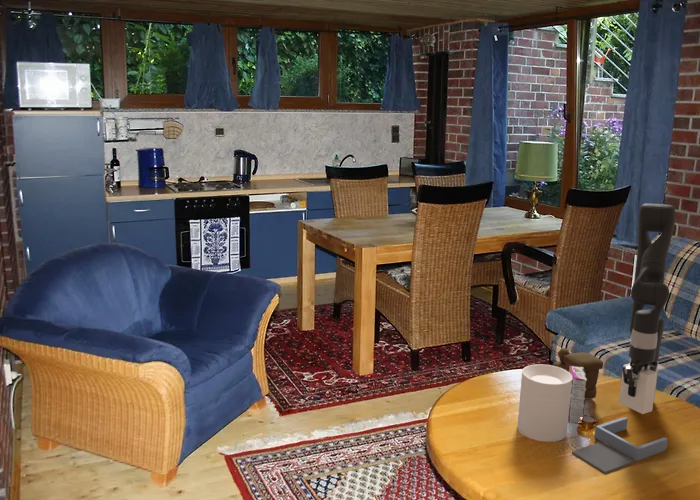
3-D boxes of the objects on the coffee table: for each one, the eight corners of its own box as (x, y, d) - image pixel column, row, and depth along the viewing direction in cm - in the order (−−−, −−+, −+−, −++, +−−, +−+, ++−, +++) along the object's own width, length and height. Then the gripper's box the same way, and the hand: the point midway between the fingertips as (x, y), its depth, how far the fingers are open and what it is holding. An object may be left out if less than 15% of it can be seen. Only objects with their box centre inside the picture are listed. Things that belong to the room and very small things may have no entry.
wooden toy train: (600, 403, 249) (605, 360, 245) (575, 408, 245) (580, 365, 241) (564, 381, 267) (568, 341, 263) (540, 385, 263) (544, 345, 259)
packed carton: (628, 399, 223) (632, 362, 220) (652, 411, 216) (657, 372, 213) (618, 402, 221) (623, 364, 218) (642, 414, 214) (647, 375, 210)
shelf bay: (623, 427, 232) (624, 416, 231) (666, 450, 218) (667, 438, 217) (594, 437, 225) (595, 426, 224) (636, 461, 211) (638, 449, 210)
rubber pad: (600, 443, 221) (600, 441, 221) (634, 462, 210) (634, 460, 210) (571, 453, 215) (571, 451, 215) (605, 473, 204) (605, 471, 204)
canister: (569, 424, 233) (575, 369, 228) (562, 446, 219) (568, 388, 214) (522, 414, 240) (527, 360, 235) (512, 434, 225) (517, 378, 221)
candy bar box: (564, 408, 245) (568, 365, 241) (579, 409, 244) (583, 366, 240) (567, 422, 234) (572, 378, 230) (583, 424, 233) (588, 379, 229)
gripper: (648, 335, 220) (641, 385, 224) (617, 343, 213) (611, 394, 217) (668, 343, 213) (661, 394, 218) (638, 352, 207) (631, 404, 211)
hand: (636, 393), depth 217 cm, fingers closed on packed carton, 4 cm apart
